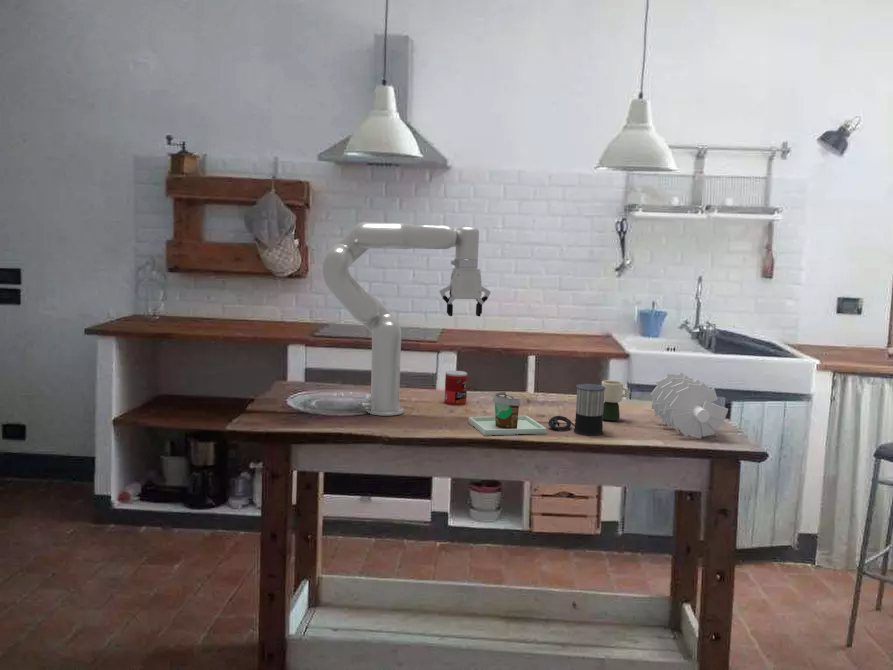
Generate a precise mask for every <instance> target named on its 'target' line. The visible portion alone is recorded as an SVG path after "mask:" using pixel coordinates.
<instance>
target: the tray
mask: <svg viewBox="0 0 893 670" xmlns="http://www.w3.org/2000/svg"><path fill="white" fill-rule="evenodd" d="M468 422H469V423H468V424H470V425H471V426H472V427H473V426H474V427H475V428H474V427H473V428H474V429H476V430H477V431H478V432H479V431H480V432H479V433H481V434H482V435H483V436H484V435H485V436H484V437H493V436H492V435H504V436H519V435H518V434H536V435H547V427H545V426H544V425H543V424H541V423H539V422H538V421H536V420H535V419H533V418H531V417H530V416H528V415H518V423H517V429H502V428H499V427H496V423H495V415H494V416H468ZM515 434H517V435H515Z"/></svg>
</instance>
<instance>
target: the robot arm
mask: <svg viewBox="0 0 893 670" xmlns="http://www.w3.org/2000/svg"><path fill="white" fill-rule="evenodd" d="M479 240H480V231H479V228H478V227H475V226H474V227H473V226H452V225H446V224H444V225H443V224H442V225H420V224H418V225H417V224H411V223H405V222H375V221H374V222H373V221H361V222H359V223H357V224H356V225H355V226H354V228H352V229H351V230H350V231H349V232H348V233H347V234H346V235H345V236H344V237H343V238H342V239H340V240H339V241H338V242H337V243H336V244H335V245H333V246H332V247H331V248H330V249H329V250H328V251H327V252H326V255H325V256H324V260H323V263H322V268H321V269H322V271H321V272H322V277H323V278H322V279H323V282H324V283H325V285H326V287H327V288H328V290H329V291H330V292H331V293H332V294H333V296H334V297H335V298H336V299H337V300H338V301H339V302H340V304H341V305H342V306H343V308H345V309H346V310H347V311H348V312H349V314H350V315H351V316H352V317H353V319H355V321H357V322H359V323H362V325H363V326H365V328H366V329H367V330H368V331H369V332H370V333H371V376H370V377H371V378H370V379H371V380H370V381H371V382H370V384H371V385H370V396H369V397H368V399H365V400H356V407H362V408H365V412H366V411H367V412H368V413H367V412H366V413H367V414H369V413H370V415H374V416H384V417H386V416H387V417H390V416H398V415H402V414H404V411H405V410H404V408H403V407H402V406H400V392H401V391H400V388H401V387H400V385H401V382H400V381H401V352H402V351H401V350H402V349H401V348H402V329H401V325H400V322H399V319H397V318H396V317H395V316H394V315H393V314H392V312H391V311H390V310H389V309H388V308H386V306H385V305H384V304H383V303H382V302H381V300H379V299H378V298H377V297H376V296H375V295H374V294H372V293H370V292H367V291H366V290H365V289H364V288H363V287H362V286H361V284H359V282H358V281H357V280H356V279H355V278H354V276H352V275H351V274H350V270H349V268H350V266H351V265H352V264H354V263H355V262H356V261H357V260H358V259H359V258H361V256H363V255H364V254H365V253H366V252H367V251H369V249H385V250H386V249H387V250H388V249H389V250H392V249H393V250H411V249H419V250H424V249H425V250H427V249H428V250H449V249H451V248H455V257H454V259H453V260H450V265H451V266H452V265H453V266H454V267H453V268H452V270H451V275H450V282H449V285H448V286H446V287H444V288H441V289H440V290H439V293H440V296H441V298H442V300H443V301H444V302H445V303H446V314H447V316H449V317H453V315H454V313H453V311H454V310H453V308H454V305H453V302H454V301H455V300H456V299H457V300H475V301H476V304H475V316H476V317H481V315H482V314H483V305H484V303H485V302H486V301H487V300H488V299H489V296H490V295H491V290H489V289H487V288H485V287H483V286H482V285H483V284H482V274H481V268H478V267H479V266H478V265H479V264H478V263H479V259H478V258H479V246H480V245H479V242H480V241H479ZM447 292H449V296H447V295H446V293H447ZM482 292H483V293H484V295H483V296H482V294H483V293H482Z"/></svg>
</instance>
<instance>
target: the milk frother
mask: <svg viewBox="0 0 893 670" xmlns="http://www.w3.org/2000/svg"><path fill="white" fill-rule="evenodd" d="M576 389H577V390H576V407H575V408H576V409H575V420H574V421H575V422H574V423H573V422H572V421H571V420H570V419H569V418H568V417H566V416H563V415H555V416H552V417H551V418H550V419H549V420H548V422H547V423H548V426H549V427H550V428H551V429H553V430H556V431H567V430H569V429H570V428H571V426H574V428H573V432H574V433H575V434H578V433H579V435H582V434H585V435H584V436H600V434H601V435H603V434H604V431H603V429H604V428H603V427H604V425H603V423H604V419H603V409H604V402H605V401H604V392H605V389H606V388H605V387H604V386H602V385H600V384H594V383H581V384H576ZM559 421H563V422H565V423H566V424H567V425H564V426H560V422H559ZM602 433H603V434H602Z"/></svg>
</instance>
